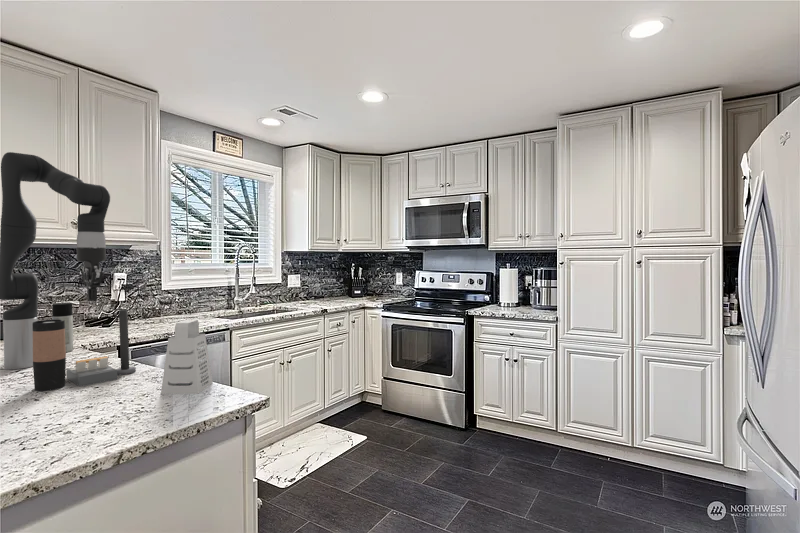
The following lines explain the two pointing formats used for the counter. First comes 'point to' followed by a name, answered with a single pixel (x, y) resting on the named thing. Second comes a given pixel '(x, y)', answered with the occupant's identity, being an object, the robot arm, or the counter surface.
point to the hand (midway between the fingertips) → (92, 300)
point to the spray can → (65, 313)
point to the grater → (186, 360)
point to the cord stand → (124, 345)
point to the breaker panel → (91, 375)
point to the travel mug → (49, 354)
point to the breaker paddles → (91, 363)
